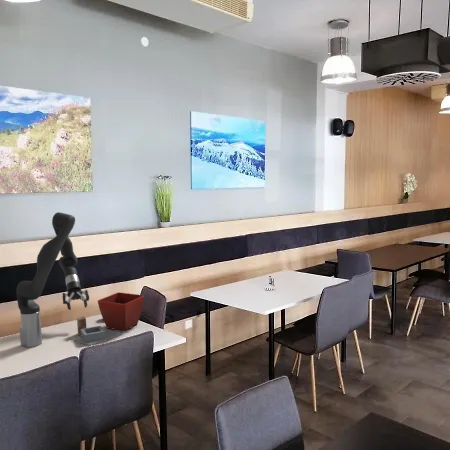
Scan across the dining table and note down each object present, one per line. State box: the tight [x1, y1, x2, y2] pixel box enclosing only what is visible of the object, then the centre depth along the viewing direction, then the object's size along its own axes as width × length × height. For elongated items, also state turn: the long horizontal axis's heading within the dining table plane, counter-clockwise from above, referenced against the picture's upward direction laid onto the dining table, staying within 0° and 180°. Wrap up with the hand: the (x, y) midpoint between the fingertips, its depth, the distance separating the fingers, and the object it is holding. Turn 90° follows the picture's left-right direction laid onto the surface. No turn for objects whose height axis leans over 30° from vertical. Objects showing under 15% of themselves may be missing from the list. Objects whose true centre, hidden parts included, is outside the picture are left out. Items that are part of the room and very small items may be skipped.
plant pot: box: [97, 291, 145, 332], centre depth 257 cm, size 19×19×17 cm
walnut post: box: [76, 316, 87, 337], centre depth 246 cm, size 4×4×9 cm
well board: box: [73, 325, 122, 347], centre depth 240 cm, size 20×14×5 cm
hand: (77, 308), depth 253 cm, fingers open, 8 cm apart
